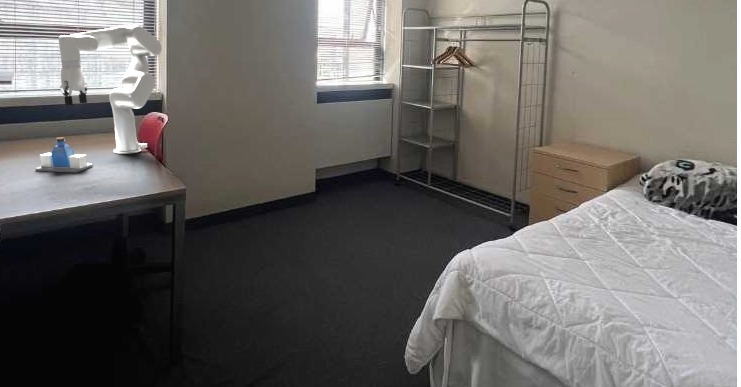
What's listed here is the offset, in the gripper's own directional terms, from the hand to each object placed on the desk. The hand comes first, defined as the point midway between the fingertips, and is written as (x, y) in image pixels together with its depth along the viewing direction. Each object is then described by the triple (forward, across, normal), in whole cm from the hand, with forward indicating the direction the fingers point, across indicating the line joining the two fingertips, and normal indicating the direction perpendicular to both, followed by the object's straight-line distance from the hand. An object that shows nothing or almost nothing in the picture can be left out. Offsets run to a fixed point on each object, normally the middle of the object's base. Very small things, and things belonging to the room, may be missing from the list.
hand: (76, 104), depth 239 cm
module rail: (+26, +15, +2) cm, 30 cm away
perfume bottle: (+25, +15, +2) cm, 29 cm away
